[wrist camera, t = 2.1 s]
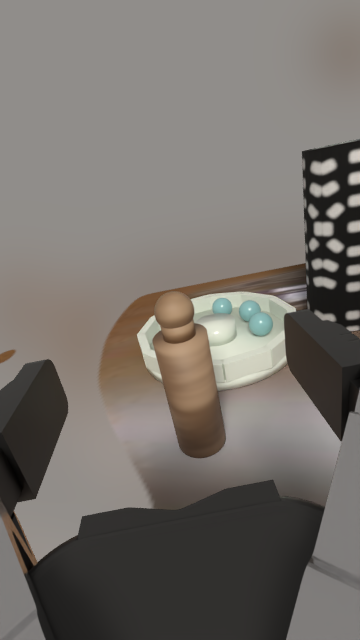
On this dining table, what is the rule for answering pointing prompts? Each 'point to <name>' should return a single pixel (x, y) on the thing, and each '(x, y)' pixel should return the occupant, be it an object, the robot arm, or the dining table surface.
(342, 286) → the white-spotted black cylinder
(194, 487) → the dining table surface
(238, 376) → the tray
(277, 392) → the dining table surface
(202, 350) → the pepper mill
